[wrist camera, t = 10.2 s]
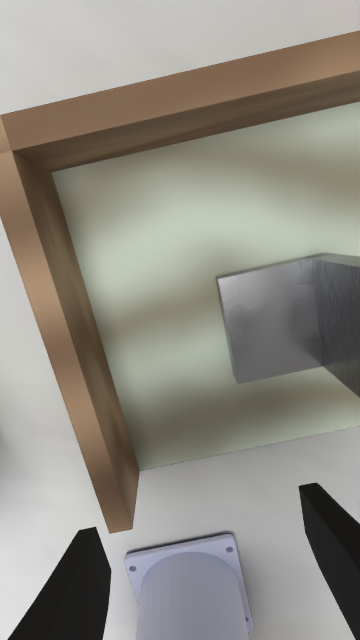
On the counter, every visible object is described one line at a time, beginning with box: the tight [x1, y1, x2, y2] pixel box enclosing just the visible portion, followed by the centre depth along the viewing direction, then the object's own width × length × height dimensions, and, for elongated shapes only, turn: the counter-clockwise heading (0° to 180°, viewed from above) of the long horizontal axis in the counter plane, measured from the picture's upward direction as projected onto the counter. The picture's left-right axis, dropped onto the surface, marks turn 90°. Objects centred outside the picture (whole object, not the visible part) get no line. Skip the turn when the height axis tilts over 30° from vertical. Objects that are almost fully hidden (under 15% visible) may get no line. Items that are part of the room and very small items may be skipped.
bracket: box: [215, 252, 360, 398], centre depth 15 cm, size 6×6×6 cm
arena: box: [0, 31, 360, 534], centre depth 16 cm, size 19×19×5 cm
